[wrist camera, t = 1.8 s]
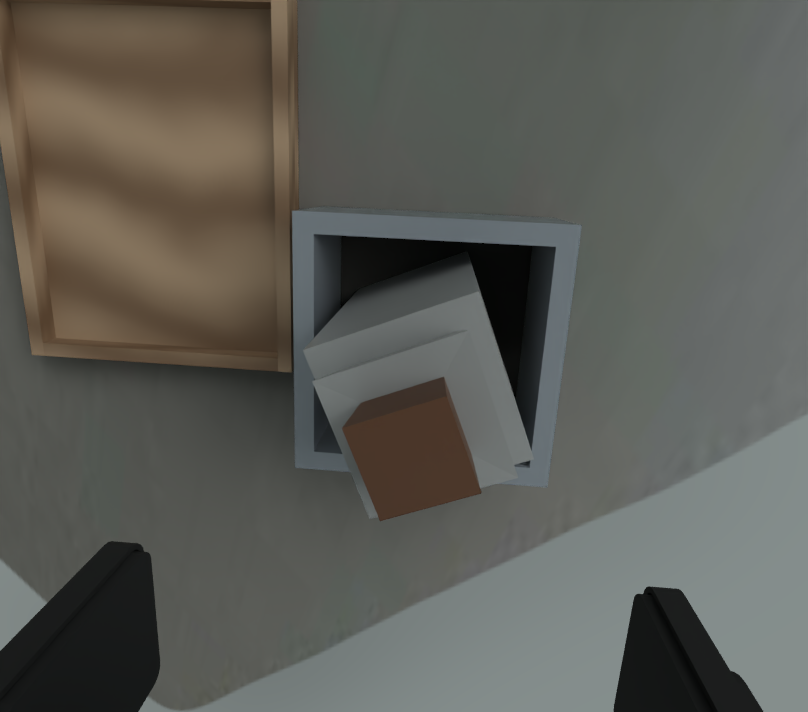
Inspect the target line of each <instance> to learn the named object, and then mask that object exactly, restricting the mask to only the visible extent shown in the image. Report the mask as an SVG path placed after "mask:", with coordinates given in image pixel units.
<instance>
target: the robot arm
mask: <svg viewBox="0 0 808 712" xmlns="http://www.w3.org/2000/svg"><path fill="white" fill-rule="evenodd" d="M159 669H160V655H159V644H158V632H157V621H156V609H155V598H154V586H153V575H152V563H151V556H150V554H149V553H148V552H144V550H143V547H142V546H141V545H140V544H138V543H126V542H114V541H111V542H108V543H107V544H105V545H104V546H103V547H102V548H101V549H100V550H99V551H98V552H97V553H96V554H95V555H94V556H93V557H92V558H91V559H90V560H89V561H88V562H87V563H86V564H85V565H84V566H83V567H82V569H81V570H80V571H79V572H78V573H77V574H76V575H75V576H74V577H73V578H72V579H71V580H70V581H69V582H68V583H67V584H66V585H65V586H64V587H63V588H62V589H61V590H60V591H59V592H58V593H57V594H56V595H55V596H54V597H53V598H52V599H51V600H50V601H49V602H48V603H47V604H46V605H45V606H44V607H43V608H42V609H41V610H40V611H39V612H38V613H37V614H36V615H35V616H34V617H33V618H32V619H31V620H30V621H29V623H28V624H26V625H25V626H24V627H23V628H22V629H21V631H19V633H18V634H17V635H16V636H15V637H14V638H13V639H12V640H11V641H10V642H9V643H8V644H7V645H6V646H5V647H4V648H3V649H2V650H1V651H0V712H138V711H139V710H140V708H141V706H142V705H143V702H144V701H145V700H146V698H147V696H148V695H149V693H150V691H151V690H152V688H153V686H154V684H155V682H156V680H157V677H158V674H159ZM614 712H763V710H762V709H761V707H760V706H759V704H758V702H757V701H756V699H755V697H754V696H753V694H752V693H751V691H750V689H749V688H748V686H747V685H746V683H745V682H744V680H743V679H742V678H741V677H740V676H739V675H738V674H736V673H735V672H732V671H730V670H729V668H728V666H727V665H726V663H725V661H724V660H723V658H722V656H721V655H720V654H719V652H718V650H717V648H716V647H715V645H714V643H713V641H712V640H711V638H710V636H709V635H708V633H707V631H706V630H705V628H704V627H703V625H702V623H701V622H700V620H699V618H698V617H697V615H696V613H695V612H694V610H693V609H692V607H691V605H690V603H689V602H688V600H687V598H686V597H685V595H684V594H683V592H682V591H681V590H679V589H671V588H659V587H646V589H645V590H644V593H643V594H637V595H635V597H634V601H633V607H632V612H631V617H630V623H629V628H628V634H627V639H626V644H625V650H624V655H623V661H622V666H621V671H620V677H619V682H618V687H617V693H616V698H615V704H614Z"/></svg>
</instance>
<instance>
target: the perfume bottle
mask: <svg viewBox="0 0 808 712" xmlns="http://www.w3.org/2000/svg"><path fill="white" fill-rule="evenodd" d="M303 352H304V355H305V357H306V359H307V362H308V364H309V367H310V369H311V371H312V374H313V376H314V379H315V380H314V381H312V382H313V385H314V387H315V389H316V392H317V394H318V396H319V399H320V401H321V404H322V406H323V408H324V411H325V413H326V416H327V418H328V420H329V423H330V425H331V428H332V430H333V432H334V435H335V437H336V440H337V442H338V444H339V447H340V449H341V451H342V454H343V456H344V459H345V461H346V463H347V466H348V468H349V471H350V473H351V475H352V478H353V480H354V483H355V485H356V487H357V490H358V492H359V495H360V497H361V499H362V502H363V504H364V506H365V509H366V511H367V514H368V516H369V518H370V519H371V518H375V517H379V520H380V521H382V520H386V519H390V518H393V517H397V516H401V515H404V514H408V513H411V512H415V511H419V510H422V509H426V508H430V507H433V506H437V505H441V504H444V503H448V502H452V501H455V500H459V499H462V498H466V497H470V496H473V495H477V494H481V489H480V488H483V487H487V486H491V485H494V484H498V483H501V482H505V481H509V480H512V479H516V478H518V475H517V472H516V469H515V466H514V465H515V464H519V463H522V462H526V461H530V460H533V459H534V458H533V455H532V451H531V448H530V445H529V442H528V439H527V436H526V432H525V429H524V426H523V423H522V420H521V416H520V413H519V410H518V407H517V404H516V401H515V397H514V394H513V391H512V388H511V385H510V381H509V378H508V375H507V372H506V369H505V366H504V362H503V359H502V356H501V353H500V350H499V347H498V344H497V341H496V338H495V335H494V331H493V328H492V325H491V322H490V319H489V316H488V313H487V310H486V307H485V304H484V301H483V298H482V294H481V291H480V288H479V285H478V282H477V279H476V276H475V273H474V270H473V267H472V264H471V261H470V258H469V254H468V251H466V252H463V253H460V254H457V255H454V256H452V257H449V258H446V259H443V260H440V261H437V262H434V263H431V264H429V265H426V266H423V267H420V268H417V269H414V270H411V271H409V272H406V273H403V274H400V275H397V276H394V277H391V278H389V279H386V280H383V281H380V282H377V283H374V284H371V285H369V286H366V287H363V288H360V289H358V290H357V292H356V293H355V294H354V295H353V296H352V297H351V298H350V299H349V300H348V301H347V302H346V304H345V305H344V306H343V307H342V308H341V309H340V310H339V311H338V312H337V313H336V315H335V316H334V317H333V318H332V319H331V320H330V321H329V322H328V323H327V324H326V325H325V327H324V328H323V329H322V330H321V331H320V332H319V333H318V334H317V335H316V336H315V337H314V339H313V340H312V341H311V342H310V343H309V344H308V345H307V346H306V347H305V348H304V350H303Z"/></svg>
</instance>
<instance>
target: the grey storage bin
mask: <svg viewBox="0 0 808 712" xmlns="http://www.w3.org/2000/svg"><path fill="white" fill-rule="evenodd" d="M581 228H582V225H580V224H576V223H572V222H568V221H564V220H561V219H557V218H550V217H530V216H510V215H490V214H469V213H449V212H429V211H409V210H389V209H368V208H348V207H328V206H323V207H316V208H308V209H300V210H293V211H292V242H293V333H294V424H295V468H305V469H317V470H330V471H343V472H350V471H349V468H348V466H347V463H346V461H345V459H344V456H343V454H342V451H341V449H340V447H339V444H338V442H337V440H336V437H335V435H334V432H333V430H332V428H331V425H330V423H329V420H328V418H327V416H326V413H325V411H324V408H323V406H322V404H321V401H320V399H319V396H318V394H317V392H316V389H315V387H314V385H313V382H312V381H314V380H315V379H314V376H313V374H312V371H311V369H310V367H309V364H308V362H307V359H306V357H305V355H304V352H303V350H304V348H305V347H306V346H307V345H308V344H309V343H310V342H311V341H312V340H313V339H314V337H315V336H316V335H317V334H318V333H319V332H320V331H321V330H322V329H323V328H324V327H325V325H326V324H327V323H328V322H329V321H330V320H331V319H332V318H333V317H334V316H335V315H336V313H337V312H338V311H339V310H340V303H341V236H360V237H379V238H398V239H417V240H436V241H455V242H474V243H493V244H512V245H531V246H532V255H531V265H530V274H529V283H528V292H527V301H526V311H525V320H524V329H523V338H522V348H521V357H520V366H519V375H518V384H517V394H516V404H517V407H518V410H519V413H520V416H521V420H522V423H523V426H524V429H525V432H526V436H527V439H528V442H529V445H530V448H531V451H532V455H533V458H534V459H533V460H530V461H526V462H522V463H519V464H515V465H514V466H515V469H516V472H517V475H518V478H516V479H512V480H509V481H505V482H501V483H498V484H510V485H523V486H535V487H547V486H548V478H549V471H550V463H551V456H552V448H553V440H554V433H555V425H556V418H557V410H558V402H559V395H560V387H561V380H562V372H563V364H564V357H565V349H566V342H567V334H568V327H569V319H570V311H571V304H572V296H573V289H574V281H575V273H576V266H577V258H578V251H579V243H580V235H581Z"/></svg>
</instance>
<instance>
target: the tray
mask: <svg viewBox="0 0 808 712" xmlns="http://www.w3.org/2000/svg"><path fill="white" fill-rule="evenodd" d="M0 143H1V150H2V157H3V164H4V170H5V177H6V184H7V191H8V197H9V204H10V211H11V217H12V224H13V231H14V238H15V244H16V251H17V258H18V264H19V271H20V278H21V285H22V291H23V298H24V305H25V311H26V318H27V325H28V332H29V338H30V345H31V352H32V355H41V356H56V357H71V358H86V359H100V360H115V361H130V362H145V363H159V364H174V365H189V366H204V367H219V368H233V369H248V370H263V371H278V372H292V371H293V370H294V333H293V242H292V211H293V210H299V165H298V35H297V0H0Z"/></svg>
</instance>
